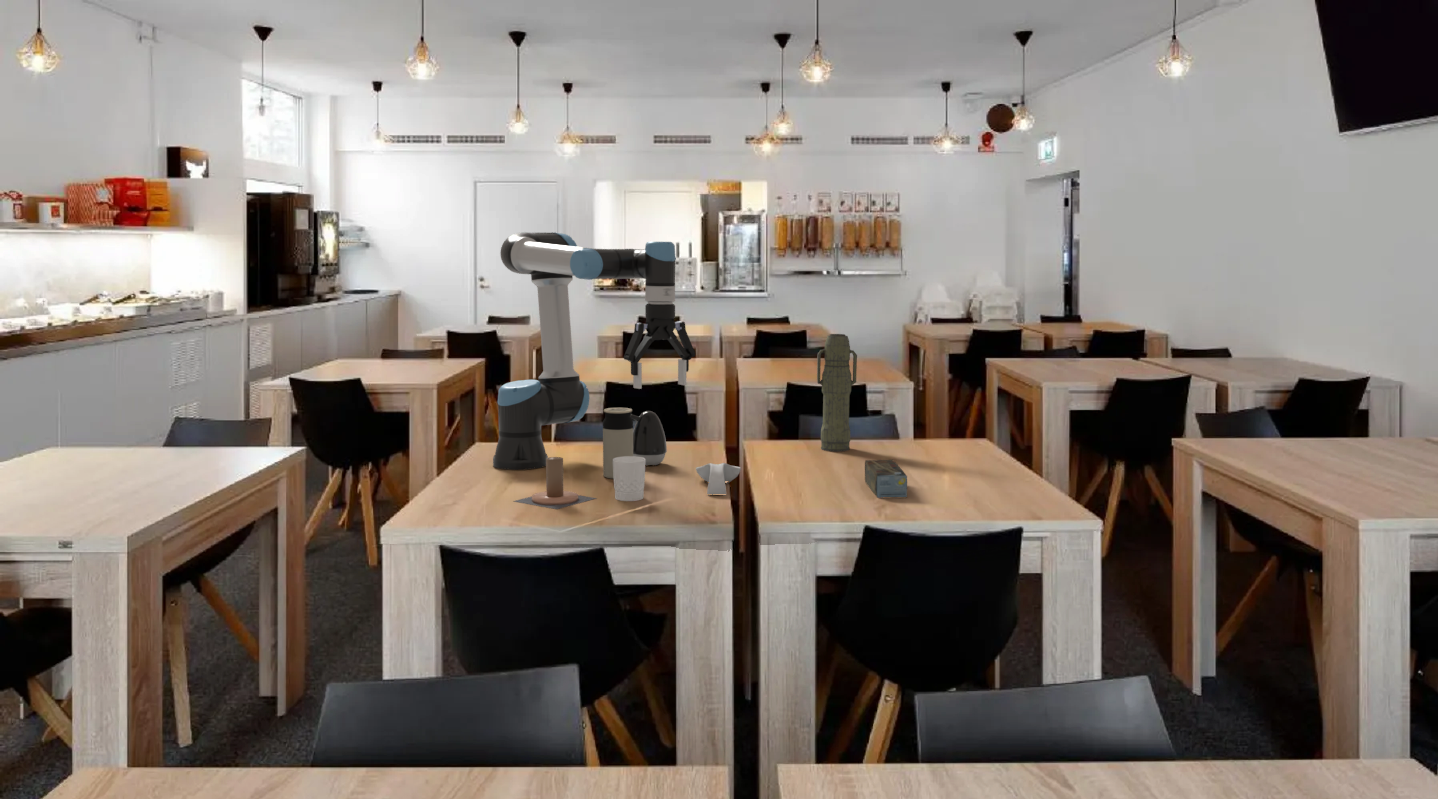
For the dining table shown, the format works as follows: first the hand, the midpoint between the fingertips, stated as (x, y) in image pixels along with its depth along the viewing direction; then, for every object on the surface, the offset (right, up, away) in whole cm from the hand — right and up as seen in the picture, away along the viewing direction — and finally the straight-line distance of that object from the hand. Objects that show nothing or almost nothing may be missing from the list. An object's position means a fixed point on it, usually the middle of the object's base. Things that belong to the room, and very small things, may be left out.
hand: (660, 386), depth 280 cm
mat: (-24, -28, -18) cm, 41 cm away
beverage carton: (+57, -27, -2) cm, 63 cm away
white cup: (-7, -28, -15) cm, 32 cm away
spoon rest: (+15, -26, +1) cm, 30 cm away
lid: (-24, -27, -18) cm, 41 cm away
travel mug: (-12, -24, +12) cm, 29 cm away
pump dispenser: (-5, -22, +29) cm, 37 cm away
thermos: (+51, -19, +55) cm, 77 cm away
